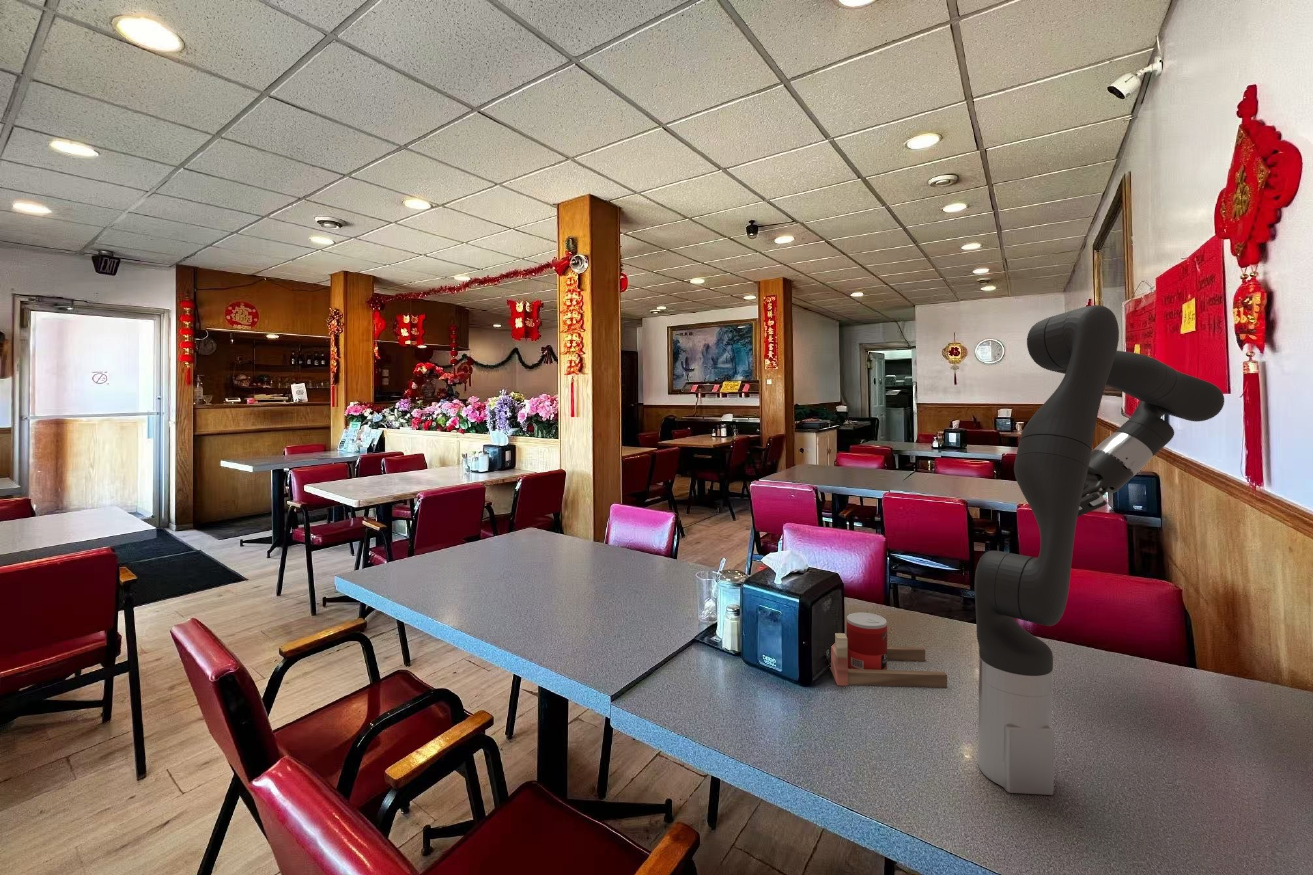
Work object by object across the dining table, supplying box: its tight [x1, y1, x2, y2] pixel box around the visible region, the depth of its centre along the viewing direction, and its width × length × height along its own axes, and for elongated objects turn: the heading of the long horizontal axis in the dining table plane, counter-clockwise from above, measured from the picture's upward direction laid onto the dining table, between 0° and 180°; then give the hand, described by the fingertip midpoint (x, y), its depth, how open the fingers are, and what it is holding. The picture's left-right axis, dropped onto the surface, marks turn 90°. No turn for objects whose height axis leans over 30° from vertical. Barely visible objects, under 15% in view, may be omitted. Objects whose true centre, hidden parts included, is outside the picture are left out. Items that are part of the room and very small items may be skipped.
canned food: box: [845, 612, 888, 670], centre depth 117 cm, size 8×8×11 cm
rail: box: [829, 632, 948, 689], centre depth 117 cm, size 14×21×10 cm, turn 84°
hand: (1042, 526), depth 106 cm, fingers closed
